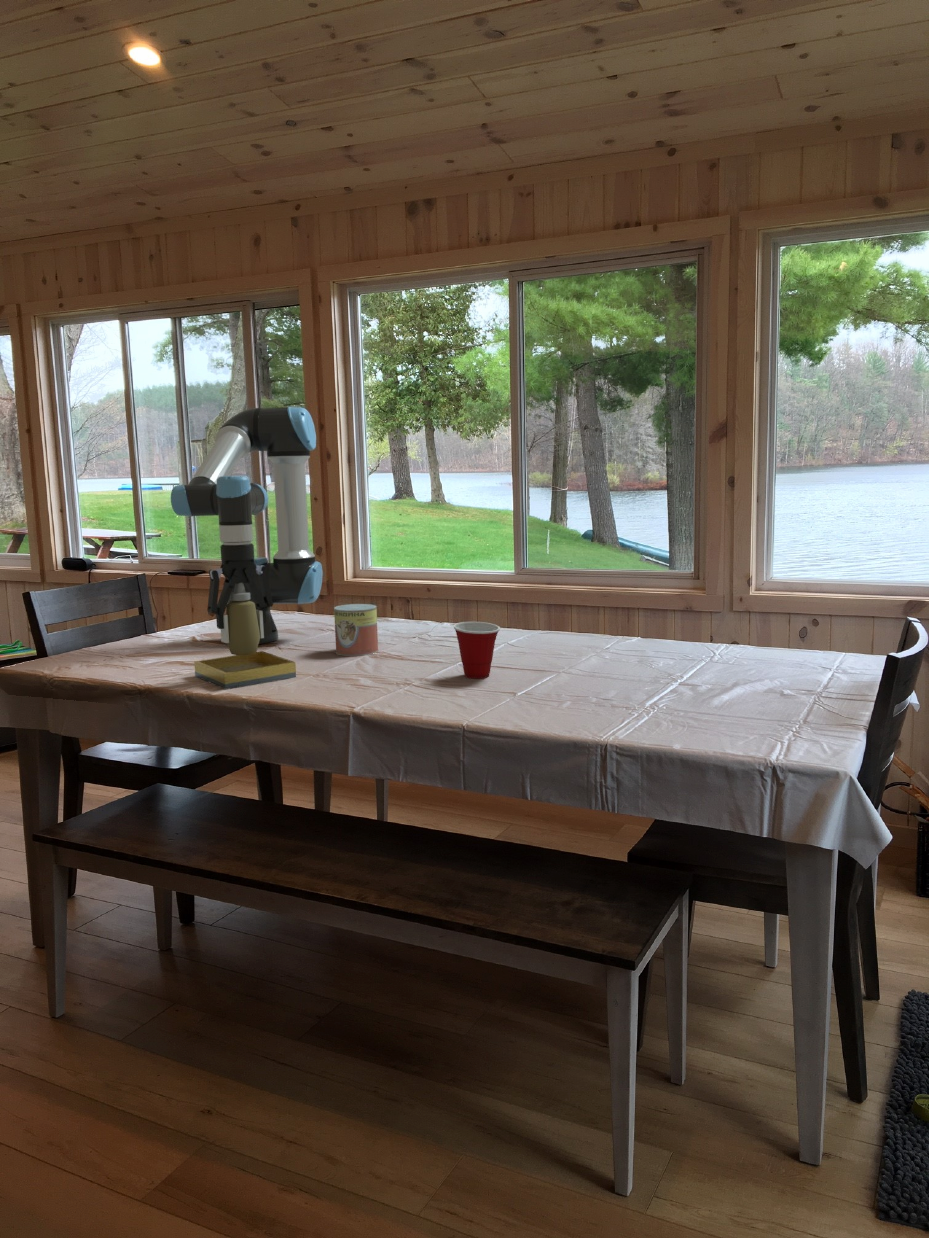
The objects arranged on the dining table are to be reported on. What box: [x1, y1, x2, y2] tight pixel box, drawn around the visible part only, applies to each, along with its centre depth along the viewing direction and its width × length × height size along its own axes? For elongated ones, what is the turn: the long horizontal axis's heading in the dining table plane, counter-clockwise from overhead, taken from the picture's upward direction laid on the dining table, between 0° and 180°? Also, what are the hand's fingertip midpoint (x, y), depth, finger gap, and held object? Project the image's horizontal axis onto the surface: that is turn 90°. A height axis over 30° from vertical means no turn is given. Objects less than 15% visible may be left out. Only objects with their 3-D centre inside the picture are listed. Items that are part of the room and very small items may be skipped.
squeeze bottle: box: [225, 583, 260, 656], centre depth 218 cm, size 8×8×18 cm
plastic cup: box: [453, 621, 501, 679], centre depth 215 cm, size 11×11×12 cm
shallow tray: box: [193, 650, 297, 690], centre depth 220 cm, size 18×18×4 cm
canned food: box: [333, 603, 379, 657], centre depth 246 cm, size 11×11×12 cm
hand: (242, 639), depth 219 cm, fingers closed on squeeze bottle, 8 cm apart
